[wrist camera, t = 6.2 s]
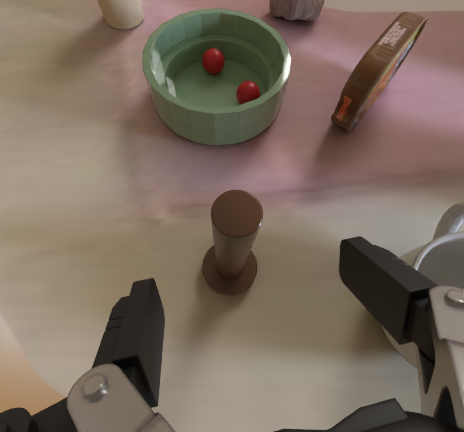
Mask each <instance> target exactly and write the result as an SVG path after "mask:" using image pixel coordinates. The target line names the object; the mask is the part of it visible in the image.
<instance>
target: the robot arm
mask: <svg viewBox="0 0 464 432" xmlns="http://www.w3.org/2000/svg"><path fill="white" fill-rule="evenodd" d="M339 273H340V277H341V279H342V281H343V283H344V284H345V285H346V286H347V288H348V289H349V290H350V291H351V292H352V293H353V294H354V295H355V296H356V298H357V299H358V300H359V301H360V302H361V303H362V304H363V305H364V306H365V307H366V309H367V310H368V311H369V312H370V313H371V314H372V315H373V316H374V317H375V319H376V320H377V321H378V322H379V323H380V324H381V325H382V326H383V327H384V329H385V330H386V331H387V332H388V333H389V334H390V335H391V336H392V337H393V338H394V340H395V341H396V342H397V343H398V344H399V345H403V344H406V343H410V342H414V343H415V345H416V346H417V348H416V360H417V369H418V378H419V386H420V395H421V414H420V413H415V412H409V411H404V410H403V409H402V407H401V406H400V404H399V403H398V402H397V400H396V399H395V398H393V399H389V400H386V401H382V402H378V403H375V404H371V405H368V406H364V407H361V408H359V409H357V410H356V411H355V412H353V413H352V414H350V415H349V416H347V417H346V418H345V419H343V420H342V421H340V422H339V423H338V424H336V425H335V426H333V427H332V428H330V429H328V430H303V429H282V430H278V431H275V432H464V289H462V288H458V287H454V286H446V285H442V286H438V285H437V284H435V283H434V282H433V281H431V280H430V279H428V278H427V277H425V276H424V275H423V274H421V273H420V272H418V271H417V270H416V269H414V268H413V267H411V266H410V265H407V263H406V262H404V261H403V260H401V259H399V258H398V257H397V256H396V255H394V254H393V253H391V252H390V251H389V250H386V249H384V248H381V247H379V246H376V245H372V244H371V243H370V242H368V241H367V240H365V239H364V238H363V237H360V236H359V237H354V238H349V239H344V240H342V241H341V244H340V261H339ZM164 326H165V316H164V310H163V306H162V302H161V299H160V296H159V292H158V289H157V286H156V282H155V280H154V278H150V279H145V280H140V281H136V282H134V283H133V285H132V289H131V292H130V296H126V297H122V298H121V299H120V300H119V301H118V302H117V304H116V305H115V306H114V307H113V309H112V312H111V314H110V317H109V321H108V323H107V326H106V331H105V332H104V335H103V338H102V340H101V343H100V346H99V349H98V352H97V355H96V358H95V361H94V364H93V366H92V369H91V370H89V371H88V372H86V373H85V374H84V375H82V376H81V377H80V378H79V379H78V380H77V381H76V383H75V384H74V385H73V387H72V388H71V390H70V392H69V394H68V397H66V398H65V399H63V400H61V401H59V402H58V403H56V404H54V405H52V406H50V407H48V408H46V409H44V410H42V411H40V412H38V413H37V414H35V415H33V416H31V415H30V413H29V412H28V411H27V410H26V409H24V408H13V409H9V410H7V411H4V412H2V413H0V432H175V431H174V430H173V428H172V427H171V426H170V424H169V423H168V422H167V421H166V419H165V418H164V417H163V416H162V415H161V414H160V413H158V412H157V413H156V414H155V413H154V412H153V410H152V409H151V408H152V407H156V406H158V398H159V386H160V374H161V362H162V350H163V338H164Z"/></svg>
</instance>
